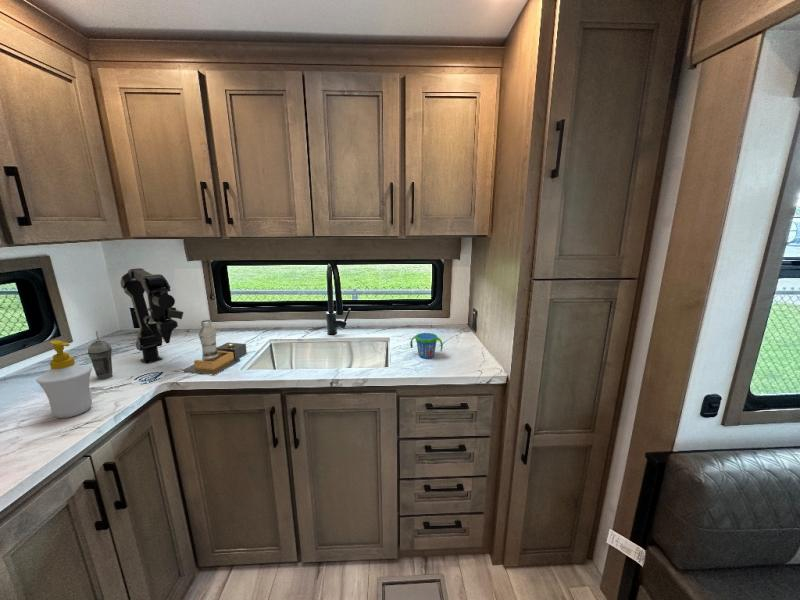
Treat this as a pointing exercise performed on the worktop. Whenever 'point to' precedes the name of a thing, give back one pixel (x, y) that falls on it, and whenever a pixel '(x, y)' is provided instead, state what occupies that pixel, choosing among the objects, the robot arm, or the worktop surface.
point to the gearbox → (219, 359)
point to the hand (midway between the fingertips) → (163, 341)
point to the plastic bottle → (208, 341)
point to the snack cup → (426, 344)
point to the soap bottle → (66, 384)
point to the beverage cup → (101, 358)
